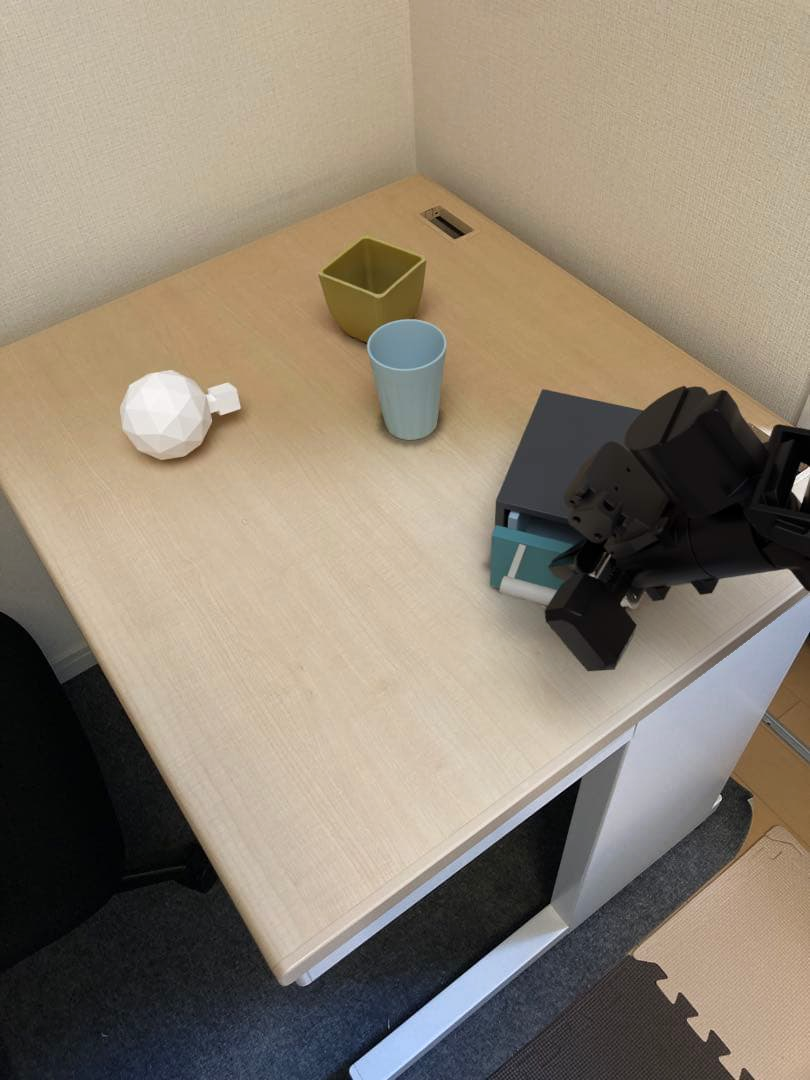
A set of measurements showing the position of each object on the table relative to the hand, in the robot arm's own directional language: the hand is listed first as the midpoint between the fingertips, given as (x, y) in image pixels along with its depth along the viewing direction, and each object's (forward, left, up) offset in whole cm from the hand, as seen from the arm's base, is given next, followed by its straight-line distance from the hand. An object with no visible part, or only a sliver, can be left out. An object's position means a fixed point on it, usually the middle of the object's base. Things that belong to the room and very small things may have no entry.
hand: (553, 568), depth 74 cm
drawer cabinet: (0, -11, -7) cm, 13 cm away
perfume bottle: (+41, -9, -7) cm, 43 cm away
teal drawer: (0, -5, -6) cm, 8 cm away
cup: (+20, -19, -7) cm, 29 cm away
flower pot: (+29, -32, -7) cm, 44 cm away
